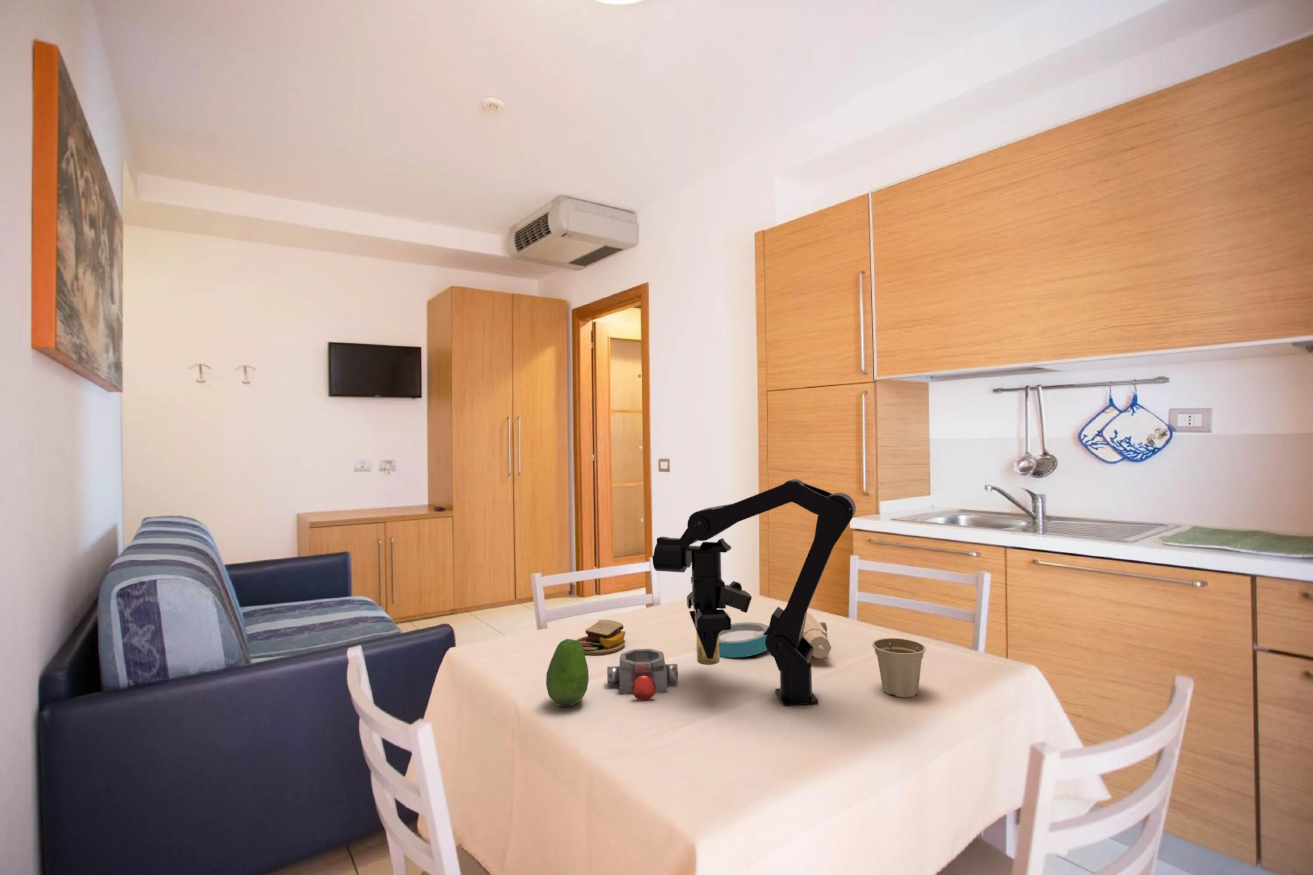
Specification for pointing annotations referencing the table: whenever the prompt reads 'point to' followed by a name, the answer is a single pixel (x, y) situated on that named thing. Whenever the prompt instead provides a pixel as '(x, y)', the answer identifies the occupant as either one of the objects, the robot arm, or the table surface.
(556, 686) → the avocado
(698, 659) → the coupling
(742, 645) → the butterfly valve
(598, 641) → the toy sandwich meal
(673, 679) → the valve
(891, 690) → the flower pot
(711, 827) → the table surface
